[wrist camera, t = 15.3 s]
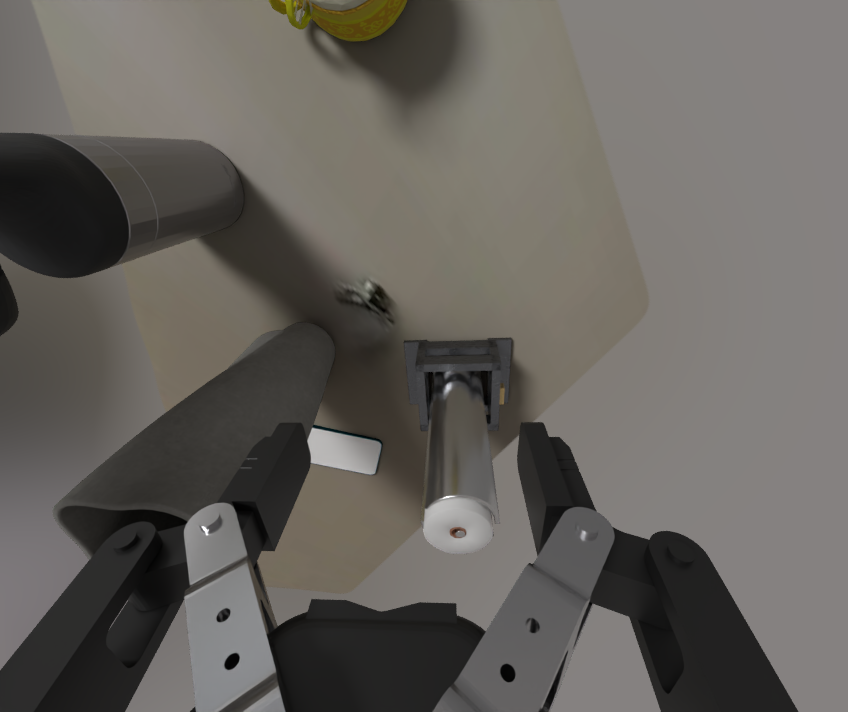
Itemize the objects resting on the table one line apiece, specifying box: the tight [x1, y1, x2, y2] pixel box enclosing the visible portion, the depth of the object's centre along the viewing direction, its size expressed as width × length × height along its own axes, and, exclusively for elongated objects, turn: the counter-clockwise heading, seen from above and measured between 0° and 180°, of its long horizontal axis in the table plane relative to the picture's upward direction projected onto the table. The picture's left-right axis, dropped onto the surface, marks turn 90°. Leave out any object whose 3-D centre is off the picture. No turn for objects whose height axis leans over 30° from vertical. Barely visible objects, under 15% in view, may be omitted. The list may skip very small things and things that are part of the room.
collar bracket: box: [404, 338, 511, 431], centre depth 49 cm, size 14×10×6 cm
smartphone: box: [307, 425, 382, 475], centre depth 60 cm, size 8×1×16 cm
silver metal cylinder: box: [421, 355, 500, 554], centre depth 40 cm, size 6×6×25 cm
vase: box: [53, 322, 335, 560], centre depth 38 cm, size 12×12×30 cm
